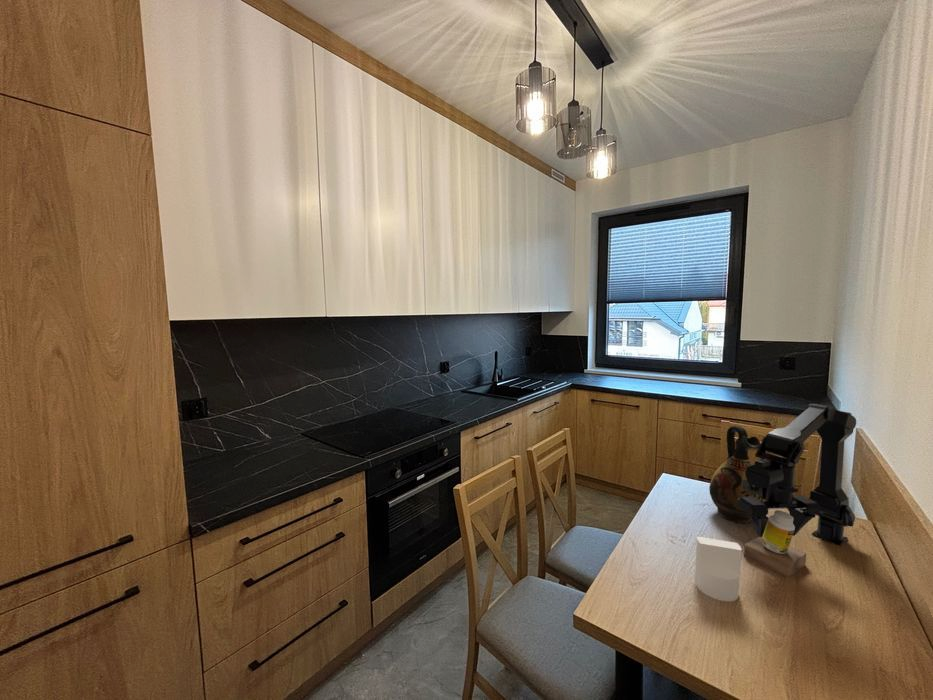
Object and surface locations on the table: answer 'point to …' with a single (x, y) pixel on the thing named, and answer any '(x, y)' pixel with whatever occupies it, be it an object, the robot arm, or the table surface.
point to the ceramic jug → (733, 476)
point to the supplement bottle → (778, 532)
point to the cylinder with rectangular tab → (718, 568)
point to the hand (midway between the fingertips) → (775, 535)
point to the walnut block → (775, 557)
